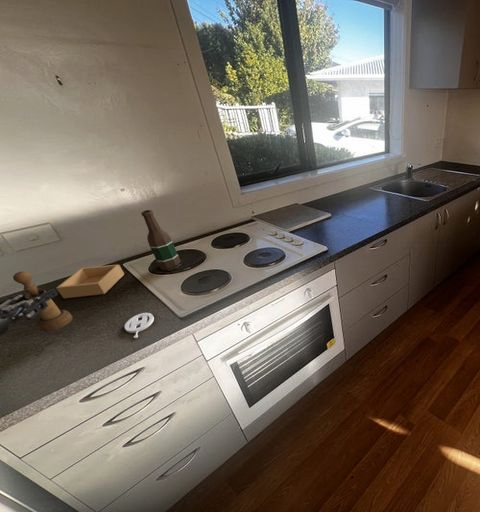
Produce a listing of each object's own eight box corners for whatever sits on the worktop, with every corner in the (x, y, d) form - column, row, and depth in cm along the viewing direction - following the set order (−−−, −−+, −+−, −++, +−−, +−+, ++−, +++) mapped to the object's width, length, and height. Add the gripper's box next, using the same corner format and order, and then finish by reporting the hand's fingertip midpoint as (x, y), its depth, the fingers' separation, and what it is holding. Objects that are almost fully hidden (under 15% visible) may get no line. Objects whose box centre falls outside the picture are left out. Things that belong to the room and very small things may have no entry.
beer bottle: (184, 259, 123) (161, 206, 110) (179, 269, 116) (155, 213, 104) (163, 262, 120) (138, 208, 108) (157, 272, 114) (129, 216, 102)
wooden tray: (63, 298, 101) (55, 287, 98) (87, 277, 111) (81, 268, 109) (104, 293, 103) (98, 283, 100) (124, 274, 113) (119, 264, 111)
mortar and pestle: (64, 328, 83) (25, 278, 74) (36, 333, 82) (-8, 282, 73) (77, 313, 89) (42, 264, 80) (51, 317, 87) (12, 268, 78)
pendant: (155, 311, 94) (154, 309, 94) (151, 333, 86) (150, 331, 86) (128, 319, 91) (127, 317, 91) (121, 342, 83) (120, 340, 83)
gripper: (-18, 325, 65) (63, 281, 80) (-71, 320, 67) (18, 277, 81) (4, 348, 69) (77, 302, 84) (-46, 343, 71) (35, 298, 85)
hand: (48, 290), depth 82 cm, fingers closed on mortar and pestle, 4 cm apart
